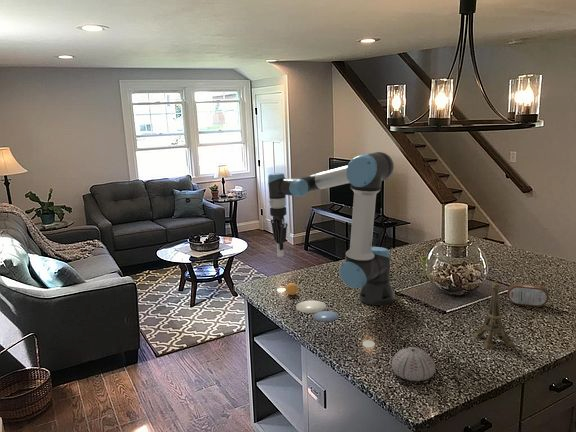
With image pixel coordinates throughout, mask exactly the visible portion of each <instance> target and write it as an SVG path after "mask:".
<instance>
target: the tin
mask: <svg viewBox="0 0 576 432" xmlns="http://www.w3.org/2000/svg"><path fill="white" fill-rule="evenodd" d="M506 293H507V298H508V300H509V301H510V302H511V303H513V304H516V305H520V306H530V307H543V306H545V305H546V304H547V303H548V301H549V292H548V290H547V289H546V288H545V287H543V286H541V285H538V284H537V285H535V284H525V283H514V284H511V285H510V286H509V287H508V288H507V292H506Z"/></svg>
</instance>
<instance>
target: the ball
mask: <svg viewBox="0 0 576 432" xmlns="http://www.w3.org/2000/svg"><path fill="white" fill-rule="evenodd" d="M298 288H299V287H298V285H297V284H296V283H294V282H289V283H288V284H287V285H286V287H285V291H286V293H287V294H288V295H289V296H294V295H295V294H297V293H298Z"/></svg>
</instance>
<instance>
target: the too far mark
mask: <svg viewBox="0 0 576 432" xmlns="http://www.w3.org/2000/svg"><path fill="white" fill-rule="evenodd" d="M313 314H314V315H313V318H314V319H315V320H316V321H318V322H323V323H324V322H327V323H328V322H333V321H336V320H337V319H339V314H338V313H337V312H335V311H332V310H331V311H330V310H323V311H320V312H316V313H313Z"/></svg>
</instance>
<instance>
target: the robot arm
mask: <svg viewBox="0 0 576 432" xmlns="http://www.w3.org/2000/svg"><path fill="white" fill-rule="evenodd" d="M394 165H395V164H394V161H393V159H392V157H391V156H390V155H389V154H387V153H386V152H382V151H376V152H371V153H370V152H369V153H365V154H364V153H362V154H359V155H357V156H355V157H353V158H352V159H351V160H350V161H349V162H348V164H347V165H344V166H340V167H336V168H332V169H329V170H326V171H321V172H318V173H313V174H309V175H305V176H299V177H296V178H295V177H294V178H290V177H289V178H288V177H285V173H283V172H271V173H269V174H268V177H267V179H268V181H267V182H268V183H267V186H268V197H269V198H268V199H269V200H268V203H269V207H270V208H269V215H270V217H272V219H270V224H271V227H272V229H271V230H272V235H273V240H274V241H275V243H276V255H277V257H278V258H280V257H285V250H284V243H286V242H287V230H288V229H287V227H288V223H287V222H285V216H286V215H287V207H286V206H287V198H286V197H287V196H291V197H292V196H293V197H305V195H306V194H308V193H312V192H316V191H320V190H324V189H325V190H326V189H328V188H333V187H337V186H341V185H346V184H350V189H351V190H352V191H353V203H352V218H351V229H350V230H351V231H350V242H349V249H348V250H347V251H346V252H345V258H344V261H343V262H342V264H341V265H339V269H338V274H339V277H340V279H341V281H343V284H345V286H347V287H349V288H351V289H359V288H360V289H359V291H358V292H359V293H358V300H359V301H360V302H361V303H363V304H365V305H366V304H367V305H371V306H383V305H389V304H391V303H393V302H394V301H395V293H394V290H393V287H392V284H391V280H390V279H391V264H390V263H391V256H390V250H389V249H388V248H386V247H380V246H372V245H373V244H372V243H373V234H374V233H373V232H374V224H375V223H374V222H375V215H376V214H375V213H376V202H377V194H378V193H380V191H381V189H382V182H383V181H385V180H387V179H389V178H390V177H391V176H392V174H393V173H394V168H395V167H394Z"/></svg>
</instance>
